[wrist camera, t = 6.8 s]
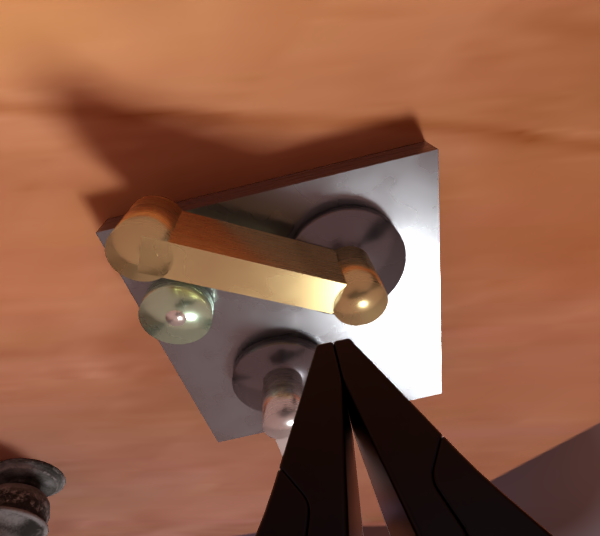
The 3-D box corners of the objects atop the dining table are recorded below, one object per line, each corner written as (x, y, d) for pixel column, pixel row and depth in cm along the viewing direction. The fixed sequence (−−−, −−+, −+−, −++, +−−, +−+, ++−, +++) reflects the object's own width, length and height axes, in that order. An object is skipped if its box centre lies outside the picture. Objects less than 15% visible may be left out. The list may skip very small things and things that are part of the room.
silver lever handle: (219, 349, 21) (212, 403, 18) (320, 326, 21) (330, 376, 18) (275, 469, 28) (277, 523, 25) (352, 453, 28) (363, 505, 25)
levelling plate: (425, 141, 18) (448, 155, 15) (433, 376, 27) (447, 406, 25) (107, 219, 18) (86, 243, 16) (220, 423, 27) (216, 456, 25)
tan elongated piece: (422, 224, 18) (456, 262, 15) (372, 315, 21) (391, 364, 18) (142, 140, 15) (111, 167, 12) (127, 262, 18) (99, 310, 15)
